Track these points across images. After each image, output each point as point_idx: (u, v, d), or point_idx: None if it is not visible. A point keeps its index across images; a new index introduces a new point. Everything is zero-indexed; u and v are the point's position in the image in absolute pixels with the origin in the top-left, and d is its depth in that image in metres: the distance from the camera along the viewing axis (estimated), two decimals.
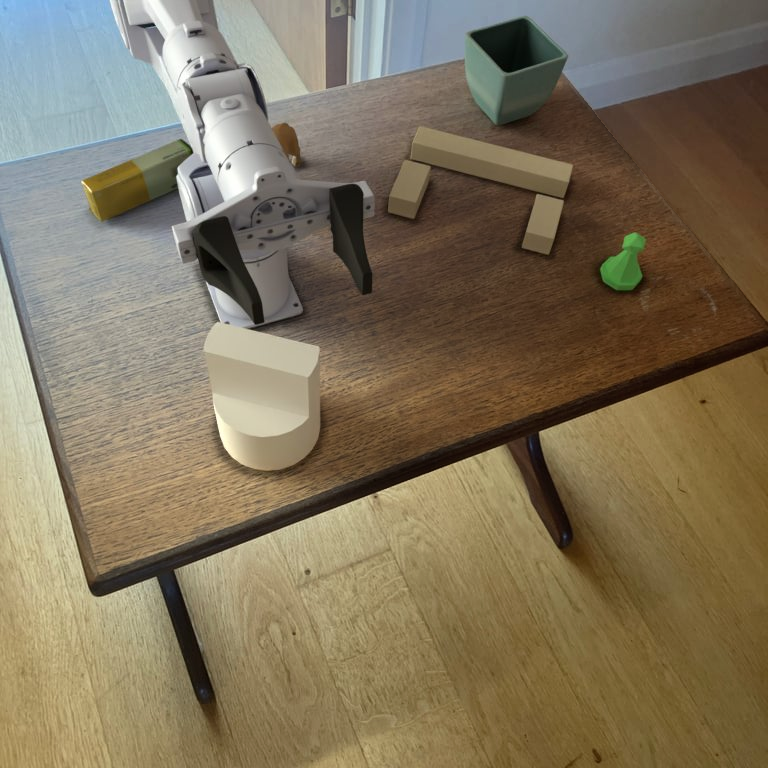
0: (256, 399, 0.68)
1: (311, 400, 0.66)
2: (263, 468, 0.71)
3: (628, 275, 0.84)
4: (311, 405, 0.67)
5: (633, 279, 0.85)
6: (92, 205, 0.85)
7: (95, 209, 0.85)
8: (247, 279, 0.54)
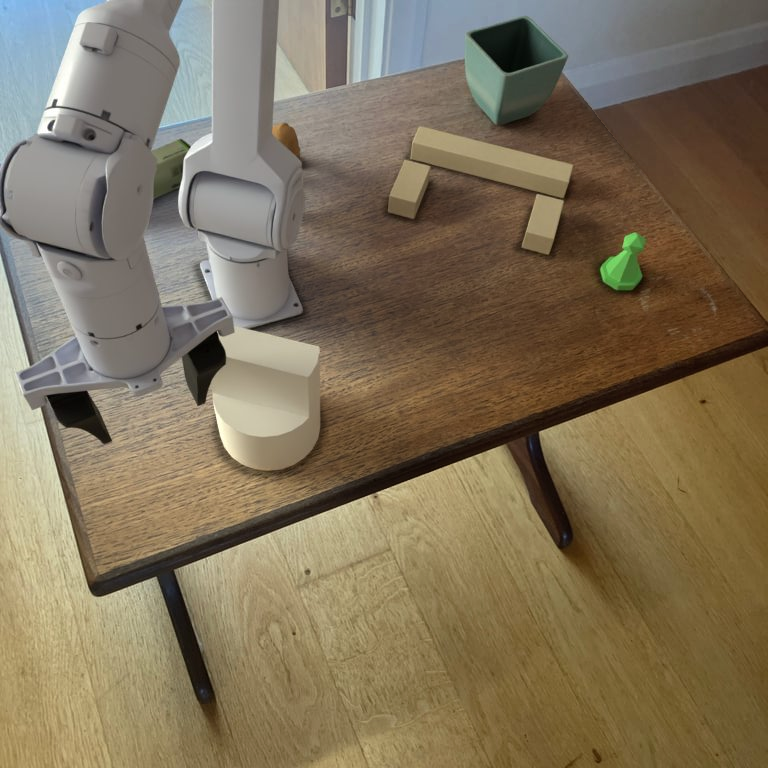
0: (256, 399, 0.68)
1: (311, 400, 0.66)
2: (263, 468, 0.71)
3: (628, 275, 0.84)
4: (311, 405, 0.67)
5: (633, 279, 0.85)
6: None
7: None
8: (103, 435, 0.60)
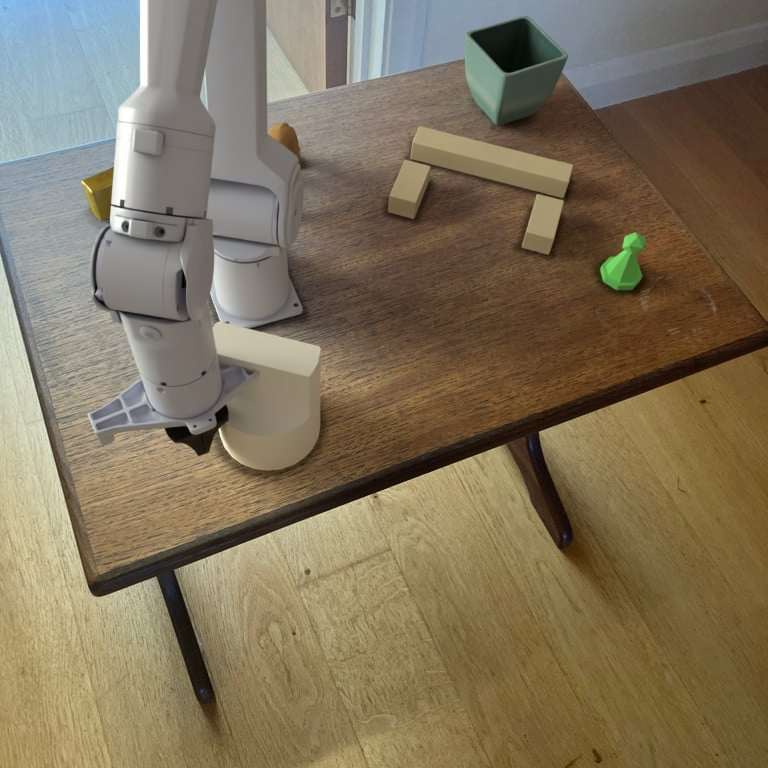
0: (256, 399, 0.68)
1: (312, 400, 0.66)
2: (263, 468, 0.71)
3: (628, 275, 0.84)
4: (312, 405, 0.67)
5: (633, 279, 0.85)
6: (92, 205, 0.85)
7: (95, 209, 0.85)
8: (200, 448, 0.68)
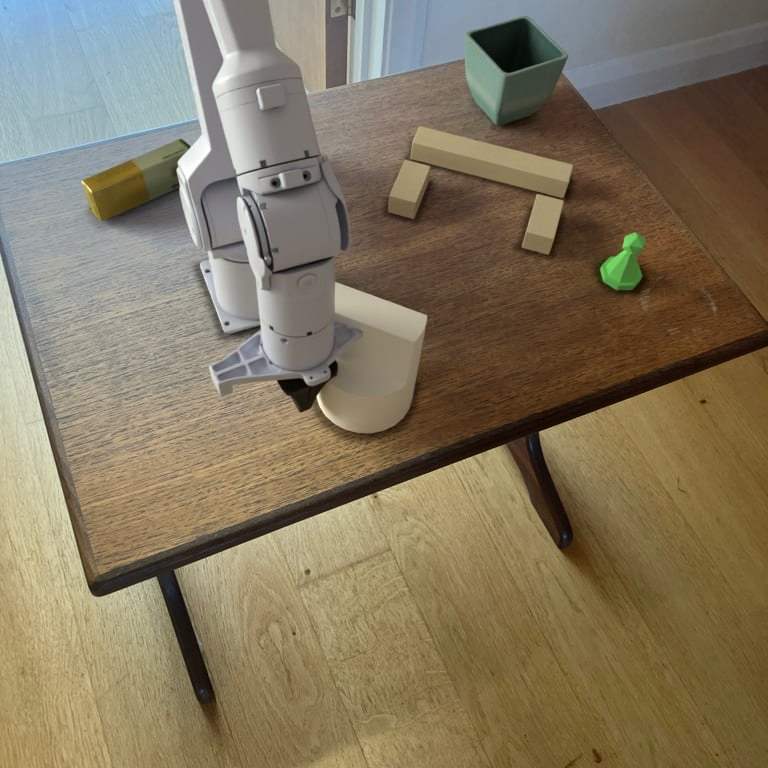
0: (358, 361, 0.70)
1: (412, 367, 0.68)
2: (354, 430, 0.74)
3: (628, 275, 0.84)
4: (411, 372, 0.69)
5: (633, 279, 0.85)
6: (92, 205, 0.85)
7: (95, 209, 0.85)
8: (304, 404, 0.71)
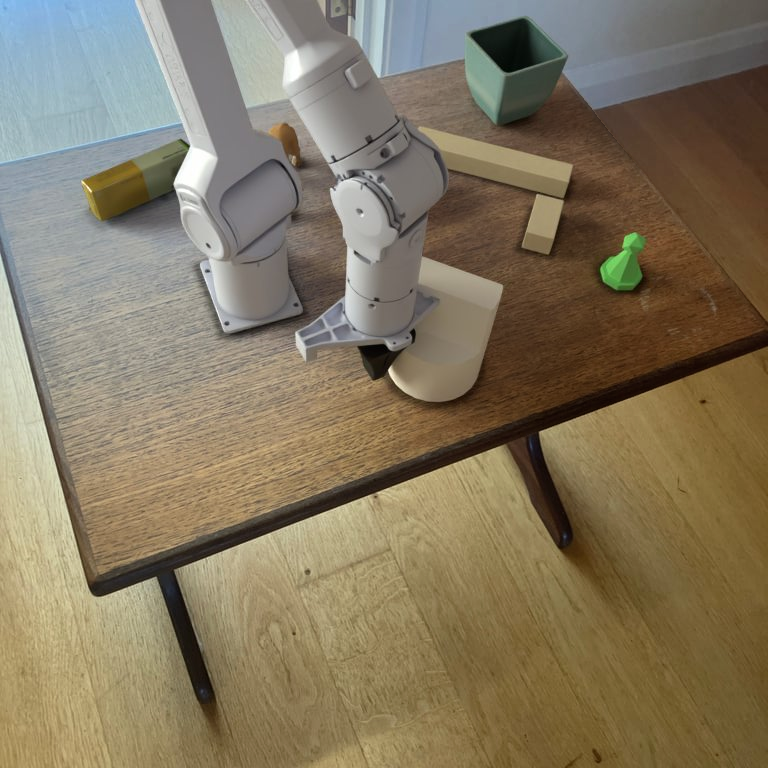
0: (432, 330, 0.73)
1: (486, 335, 0.71)
2: (425, 398, 0.76)
3: (628, 275, 0.84)
4: (484, 341, 0.71)
5: (633, 279, 0.85)
6: (92, 205, 0.85)
7: (95, 209, 0.85)
8: (379, 372, 0.73)
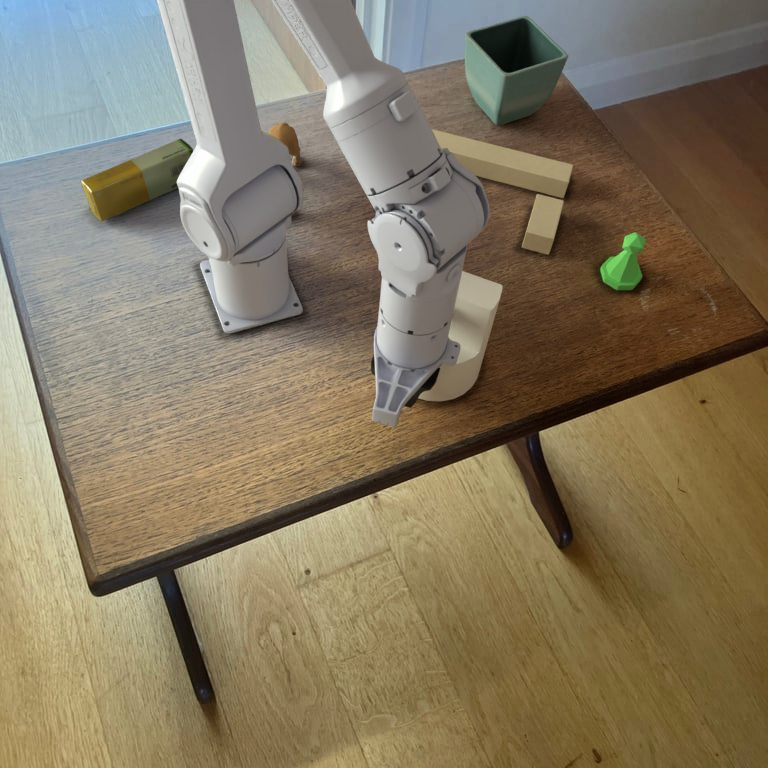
0: None
1: (485, 335, 0.71)
2: (425, 398, 0.76)
3: (628, 275, 0.84)
4: (484, 341, 0.71)
5: (633, 279, 0.85)
6: (92, 205, 0.85)
7: (95, 209, 0.85)
8: None
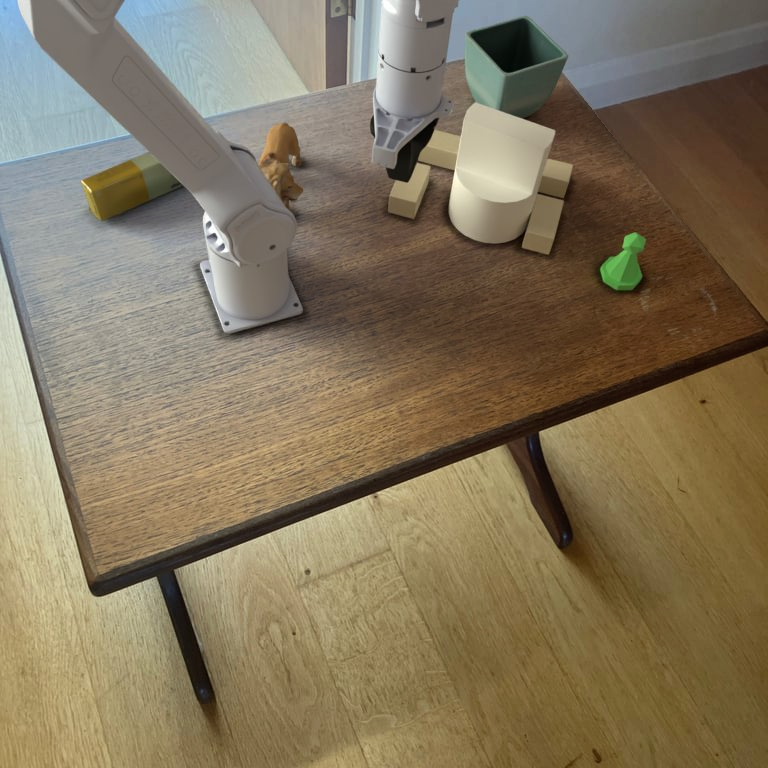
0: (491, 174, 0.84)
1: (538, 177, 0.82)
2: (482, 239, 0.88)
3: (628, 275, 0.84)
4: (536, 182, 0.83)
5: (633, 279, 0.85)
6: (92, 205, 0.85)
7: (95, 209, 0.85)
8: (414, 167, 0.77)
